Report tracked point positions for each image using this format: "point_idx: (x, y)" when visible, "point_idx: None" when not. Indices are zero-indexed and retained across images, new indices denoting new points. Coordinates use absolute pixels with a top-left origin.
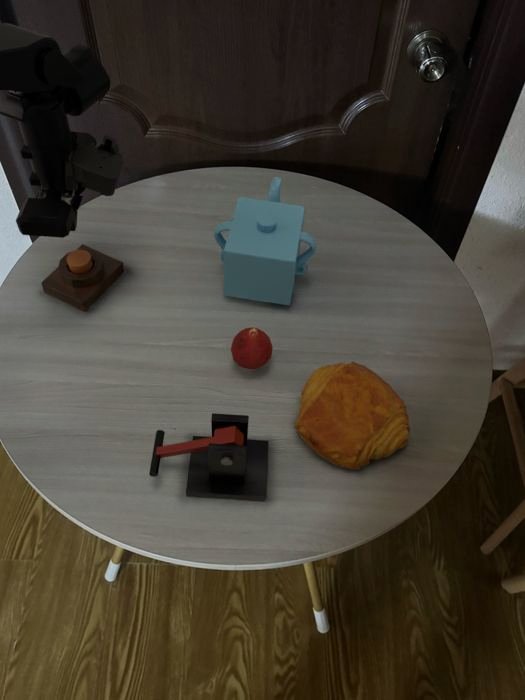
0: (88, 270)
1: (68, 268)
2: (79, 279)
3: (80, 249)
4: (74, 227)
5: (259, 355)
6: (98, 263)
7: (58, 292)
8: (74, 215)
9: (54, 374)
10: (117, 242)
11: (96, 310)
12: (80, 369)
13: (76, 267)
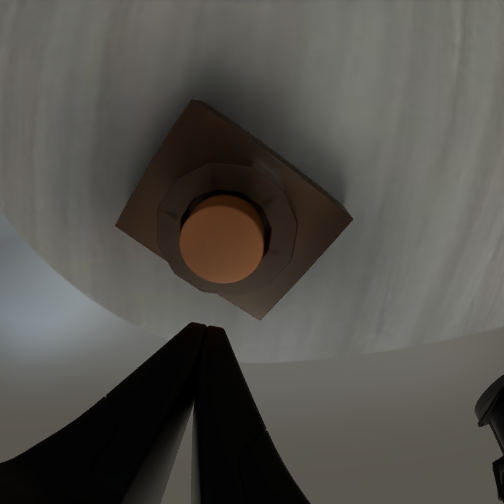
0: (253, 208)
1: None
2: (295, 236)
3: (158, 236)
4: (232, 351)
5: None
6: (225, 175)
7: (296, 279)
8: (230, 427)
9: (476, 267)
10: (89, 131)
11: (341, 178)
12: (483, 221)
13: (263, 251)
